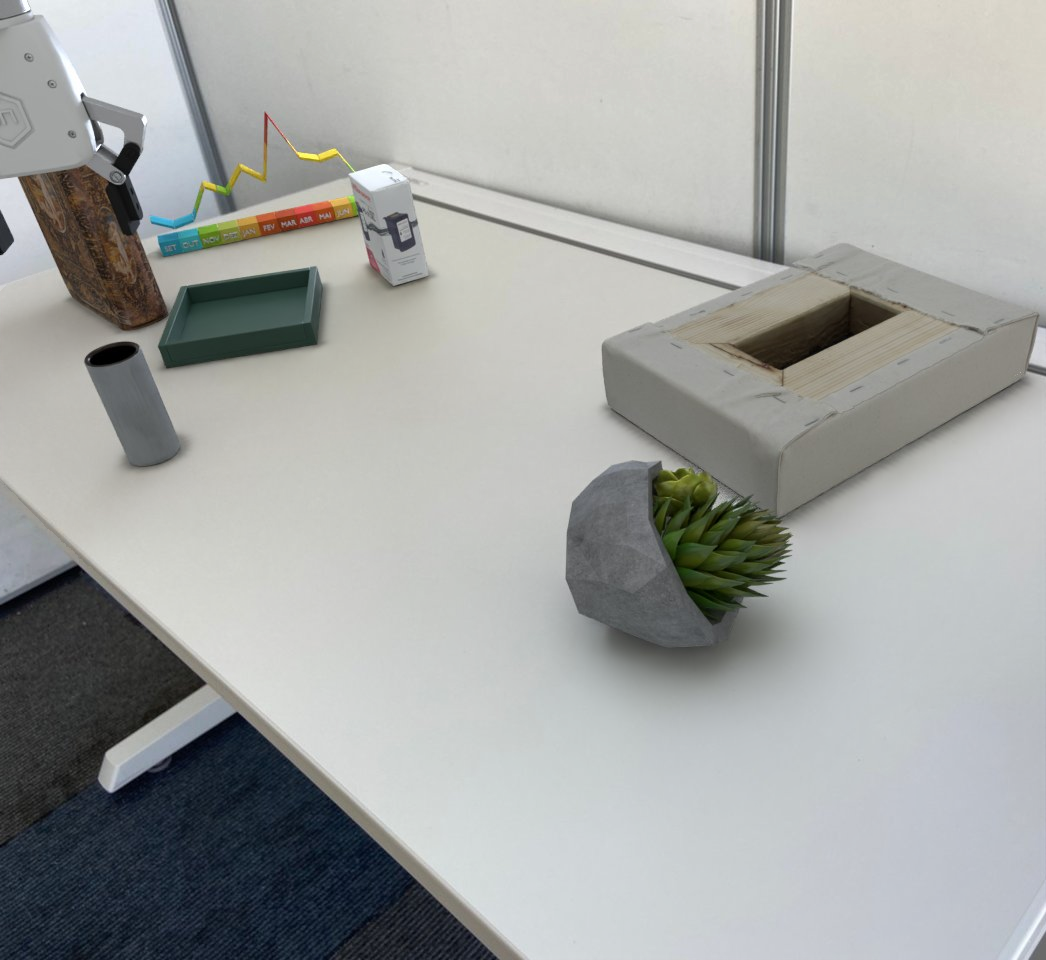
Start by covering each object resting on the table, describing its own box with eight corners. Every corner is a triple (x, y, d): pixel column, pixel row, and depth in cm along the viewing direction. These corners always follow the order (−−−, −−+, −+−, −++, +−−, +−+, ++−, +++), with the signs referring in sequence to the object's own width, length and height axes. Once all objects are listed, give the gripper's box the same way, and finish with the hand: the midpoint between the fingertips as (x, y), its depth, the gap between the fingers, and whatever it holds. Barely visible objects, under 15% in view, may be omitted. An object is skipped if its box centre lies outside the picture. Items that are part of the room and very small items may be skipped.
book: (173, 315, 114) (88, 91, 99) (127, 333, 110) (32, 105, 96) (114, 281, 123) (28, 72, 108) (70, 297, 120) (-25, 84, 105)
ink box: (368, 265, 122) (345, 171, 115) (405, 254, 124) (385, 161, 117) (392, 287, 116) (369, 190, 109) (431, 276, 118) (411, 179, 111)
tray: (166, 368, 103) (157, 346, 101) (188, 306, 115) (180, 286, 114) (316, 344, 105) (310, 322, 104) (322, 286, 118) (316, 265, 116)
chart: (163, 257, 129) (120, 142, 120) (162, 249, 131) (120, 135, 122) (390, 209, 138) (365, 98, 129) (385, 202, 140) (360, 93, 132)
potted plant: (612, 492, 74) (806, 460, 69) (621, 663, 71) (826, 644, 65) (535, 454, 63) (759, 413, 58) (542, 654, 60) (779, 630, 54)
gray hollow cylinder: (163, 434, 92) (122, 336, 86) (191, 447, 90) (150, 348, 84) (118, 457, 89) (72, 358, 83) (146, 472, 87) (101, 371, 81)
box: (781, 528, 75) (1031, 377, 90) (781, 444, 70) (1044, 299, 85) (602, 415, 90) (841, 303, 105) (593, 341, 86) (843, 234, 101)
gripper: (-195, 30, 63) (-64, 275, 73) (84, -3, 66) (174, 239, 76) (-147, 10, 69) (-32, 240, 79) (108, -19, 72) (189, 207, 82)
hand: (69, 239), depth 78 cm, fingers open, 9 cm apart
